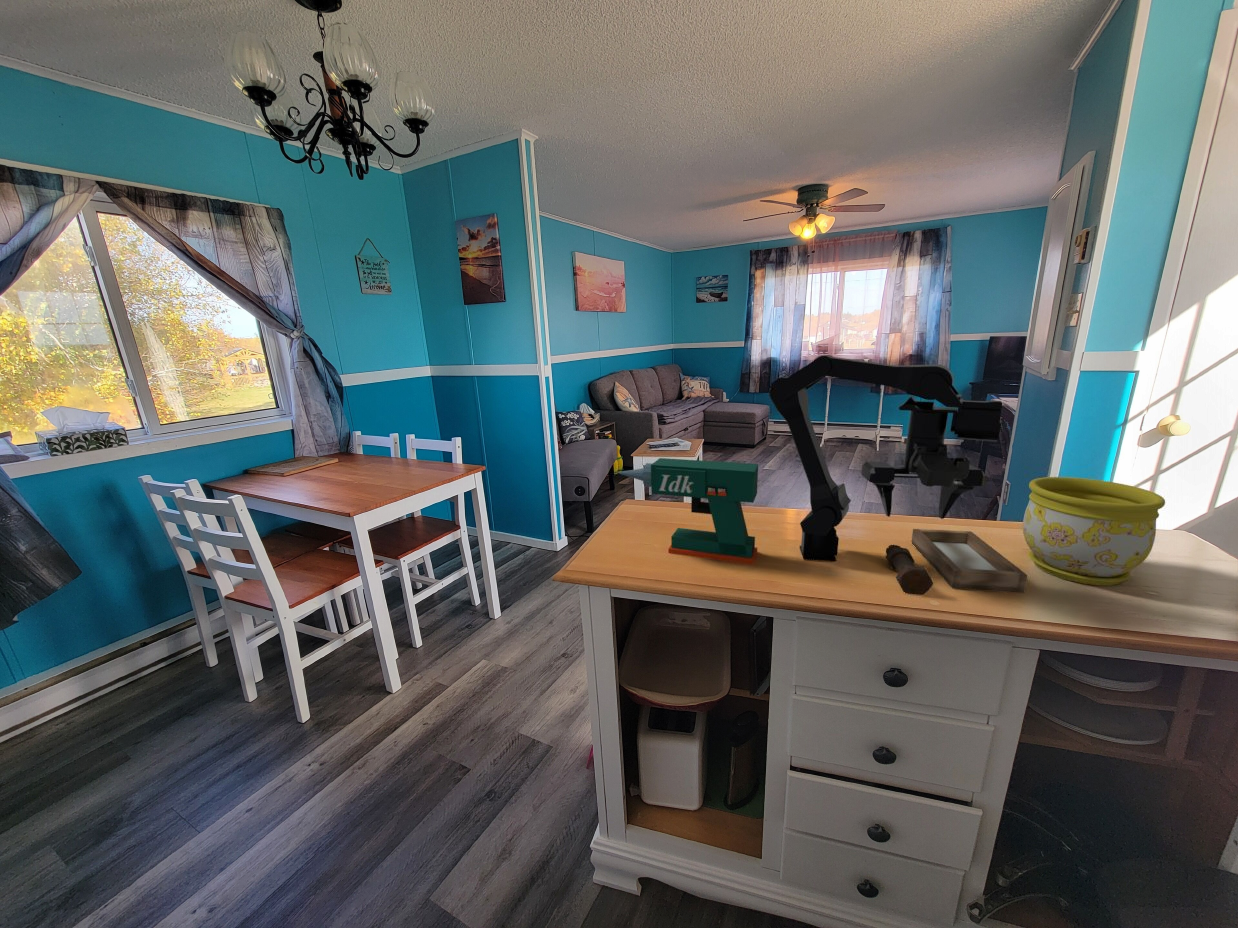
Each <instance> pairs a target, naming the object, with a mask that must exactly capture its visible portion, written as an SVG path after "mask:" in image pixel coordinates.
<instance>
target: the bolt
mask: <svg viewBox="0 0 1238 928" xmlns="http://www.w3.org/2000/svg"><path fill="white" fill-rule="evenodd" d="M885 554H886V555H885V559H886V561H887V563H888V565H889V567H890V566H891V567H890V569H892V570H894V571H897V573H898V574H896V576H895V579H896V581H897V583H898V584H899V586H900V589H901V590H902V592H903V593H904V592H905V594H908V595H915V594H916V595H917V596H923V594H924V595H926V593H928V592H929V591H930V589H932V587H933V585H934V580H933V579H932V577H931V575H930V574H929V572H928V571H927V569H926V567H925V566H922V565H921V566H920V565H915V562H916V561H915V559H914V557H913V556H912V554H911V552H910V550H909V549H908V548H906V547H902V546H901V545H900V546H899V545H897V544H890V545H888V547H886V550H885ZM916 595H915V596H916Z"/></svg>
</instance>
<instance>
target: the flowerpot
mask: <svg viewBox="0 0 1238 928" xmlns="http://www.w3.org/2000/svg"><path fill="white" fill-rule="evenodd" d="M1028 487H1029V489H1030V490H1031V493H1030V494H1029V495H1028V498H1029V501H1028V504H1027V507H1026V509H1025V512H1024V516H1023V522H1022V534H1023V537H1024V540H1025V542H1026V545H1027V546H1028V548H1029V549H1030V551H1029V552H1028V555H1027V556H1028V557H1029V558H1030V560H1031V561H1032V562H1033V564H1034V565H1035V567H1037V568H1038V569H1039V570H1042V571H1043V572H1045V573H1047V574H1050V575H1052V576H1054V577H1057V578H1061V579H1063V580H1067V581H1071V582H1074V583H1080V584H1084V585H1085V584H1086V585H1092V586H1115V585H1117V584H1120V583H1122V582H1124V581H1127V580H1129V579H1130V578H1131V572H1130V571H1133V570H1134V569H1136V568H1137V567H1139V566H1140V565H1141V564H1142V563H1143V562H1145V561H1146V559H1147V558H1148V557H1149V555H1150V553H1151V552H1152V550H1153V546H1154V543H1155V541H1156V533H1157V519H1158V518H1159V516H1160V514H1159V512H1158V511H1159V510H1160V509H1163V507H1165V505H1166V499H1165V497H1162V496H1161V495H1159V494H1158V493H1156V492H1154V491H1151V490H1148V489H1144V488H1141V487H1137V486H1134V485H1130V484H1124V483H1119V482H1114V481H1107V480H1103V479H1102V480H1101V479H1092V478H1086V477H1085V478H1083V477H1070V476H1048V477H1046V476H1044V477H1038V478H1034V479H1031V481H1029V484H1028Z"/></svg>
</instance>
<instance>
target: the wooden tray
mask: <svg viewBox="0 0 1238 928" xmlns="http://www.w3.org/2000/svg"><path fill="white" fill-rule="evenodd" d="M911 534H912V535H911V540H910V541H911V542H912V544H913V545H914V546H915V547H916V548H915V547H914V546H913V545H912V544H911V545H912V546H913V547H914V548H915V549H916V550H917V552H918V553H919V552H920V553H921V554H922V555H921V554H920V553H919V554H920V555H921V556H922V557H923V558H924V559H925V561H927V563H929V565H930V566H931V567H932V568H933V569H934V571H936V572H937V574H938V575H939V576H940V577H941V578H942V579H943V580H944V581H945V582H946V583H947V584H948V585H949V587H950V588H951V589H956V590H957V589H958V590H960V589H961V590H970V591H971V590H974V591H986V592H989V591H990V592H1002V593H1017V594H1024V593H1025V591H1026V585H1027V579H1028V574H1027V573H1026V572H1024V571H1023V570H1021V569H1020V568H1019V567H1018V566H1017V565H1015V564H1014V563H1013V562H1011V561H1010V560H1009V559H1007V558H1006V557H1005V556H1003V555H1002V554H1001V553H1000V552H998V551H997V550H996V549H994V548H993V547H992V546H991V545H989V544H988V543H987V542H986V541H984V540H983V539H981V538H980V537H979V536H977V534H975V533H974V532H972V531H967V530H965V531H964V530H948V529H927V528H926V529H923V528H913V529H912V533H911ZM911 542H910V543H911Z"/></svg>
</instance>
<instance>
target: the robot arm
mask: <svg viewBox="0 0 1238 928" xmlns="http://www.w3.org/2000/svg"><path fill="white" fill-rule="evenodd" d="M826 377H828V378H829V377H830V378H836V379H840V380H841V379H842V380H849V381H854V382H861V383H867V384H874V385H879V386H886V387H890V388H893V389H896V390H899V391H901V392H903V393H906V394H908V395H911V396H909V397H908V399H907V400H906V401H905V402H903V403H901V404H900V405H899V406H898V410H899V411H907V412H908V411H910V413H909V420H908V429H907V436H906V437H904V438H903V444H904V445H905V451H904V457H903V459H901V461H900V462H901V463H900V465H901V466H903V467H901V466H900V467H899V466H897V467H895V466H892V465H890V464H889V463H887V462H886V461H865V462H864V463H863V464H862V466H861V471H860V472H861V476H862V477H863V478H865V480H866V481H868V483H872V484H873V485H874V486H875V487H876V489H877V491H878V495H879V497H880V499H881V503H882V507H883V510H884V513H885V516H886V517H888V518H889V517H891V513H892V506H893V505H892V501H893V491H894V489H895V487H896V485H895V484H894V483H892V482H893V481H894V480H895V478H903V479H905V478H906V479H907V478H908V479H919V480H920V483H921V485H923V486H925V487H929V488H930V487H934V486H937V487H941V488H940V495H939V496H940V497H939V503H938V504H939V505H938V517H939V518H940V519H941V520H945V519H944V518H945V517H946V516H947V514H948V512H949V511H950V510H951V508H952V506H953V505H954V503H955V502H956V501H957V500H958V498H959V497H960V496H961V495H962V494H964V493H966V492H967V491H973V490H974V489H975V487H983V486H984V485H985V479H986V476H985V472H984V471H983V470H982V469H980V468H979V467H976V466H974V465H972V464H971V461H970V460H969V459H968V458H967V457H960V456H959V457H956V456H955V457H948V444H946V443H945V440H946V439H945V437H946V431H947V426H948V425H947V424H948V419H949V414H952V419H951V425H950V432H949V433H953V434H954V435H957V436H956V439H959V440H961V439H962V440H969V441H970V440H972V441H973V440H974V441H983V442H998V440H999V436H1000V432H1001V426H1002V421H1001V416H1002V407H1003V401H1002V400H995V399H994V400H993V399H992V400H964V399H963V397H962V394H961V393H959V392H958V391H957V389H956V388H955V386H954V374H953V372H952V371H951V370H950V368H948V367H947V366H946V365H942V364H908V365H906V364H905V365H904V364H903V365H893V364H889V363H888V364H886V363H880V362H879V363H878V362H873V361H872V362H871V361H864V360H857V359H851V358H843V357H837V356H833V355H829V354H825V355H819V356H817V357H815V358H814V359H813V361H811V362H810V363H808V364H807V365H805V366H803V367H802V368H800V369H799V370H797V371H795V372H794V373H792V374H791V375H788V376H787V375H786V376H783V377H780V378H777V379H776V380H774V381H773V382H772V383H771V385H770V386H769V389H768V395H769V399H770V400H771V402H772V404H773V406H774V408H775V409H776V411H777V412H778V414H779V415H780V416H781V417H782V418H783V419H784V421H785V422H786V423H787V426H788V428H789V431H790V434H791V437H792V440H793V442H794V445H795V448H796V451H797V454H798V457H799V459H800V462H801V465H802V467H803V470H804V473H805V475H806V478H807V481H808V484H809V496H810V497H809V500H810V501H809V503H810V508H811V511H809V513H807V515H806V516H805V517H804V518H803V519H802V520H801V521H800V522H799V525H800V527H801V528H800V529H801V542H800V543H801V545H799V550H800V553H801V556H802V558H803V560H805V561H815V562H816V561H817V562H818V561H819V562H835V563H836V562H837V557H836V556H838V550H839V549H838V548H839V540H840V539H839V536H838V534H837V529H836V528H835V527H837V526H839V525H840V524H841V522H842V521H843V520H844V518H845V517H846V515H847V514H848V512H849V511H850V503H851V502H852V499H850V498H849V495H848V494H847V489H846V485H845V483H841V484H839V485H838V484H837V483H836V482H835V481H834V480H833V478H832V477H831V474H830V471H829V468H828V465H827V462H826V460H825V457H824V454H823V451H822V449H821V446H820V443H819V441H818V437H817V435H816V432H815V429H814V426H813V424H812V421H811V418H810V414H809V395H808V390H809V389H810V388H812V387H813V386H815V385H817V383H820V381H822V380H823V379H825V378H826ZM914 396H915V397H917V398H920V399H924V400H917V399H916V398H915V397H914ZM925 400H926V401H925ZM927 400H928V401H927ZM934 400H935V401H936V402H939V403H940V404H942V405H943V406H945V407H943V406H941V407H940V406H935V401H934Z"/></svg>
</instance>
